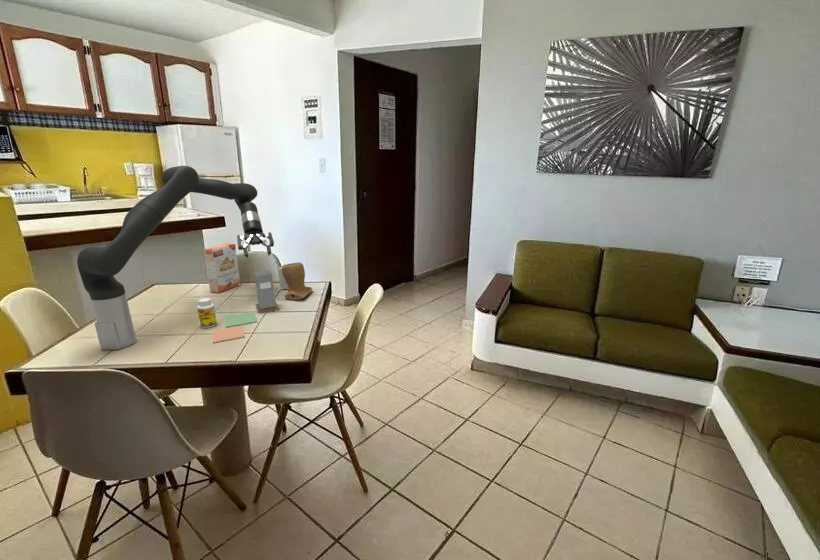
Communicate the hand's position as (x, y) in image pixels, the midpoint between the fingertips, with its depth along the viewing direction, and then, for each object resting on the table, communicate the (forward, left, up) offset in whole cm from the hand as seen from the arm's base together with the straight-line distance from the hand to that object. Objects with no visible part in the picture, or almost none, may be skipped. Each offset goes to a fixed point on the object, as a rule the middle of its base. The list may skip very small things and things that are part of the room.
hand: (258, 255), depth 167 cm
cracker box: (+18, +27, -21) cm, 39 cm away
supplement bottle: (-26, +11, -21) cm, 35 cm away
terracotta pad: (-34, -1, -21) cm, 39 cm away
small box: (+20, -3, -21) cm, 29 cm away
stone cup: (+8, -11, -21) cm, 25 cm away
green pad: (-20, +1, -21) cm, 29 cm away
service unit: (-8, -4, -21) cm, 22 cm away
